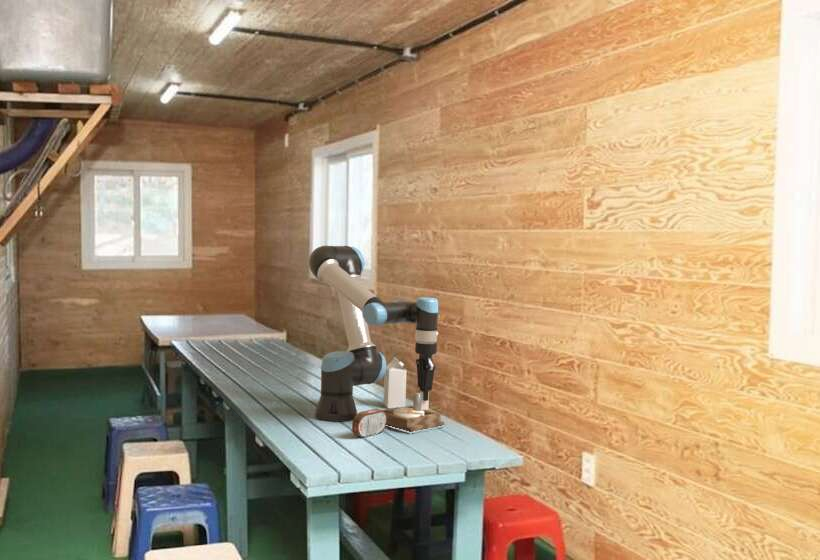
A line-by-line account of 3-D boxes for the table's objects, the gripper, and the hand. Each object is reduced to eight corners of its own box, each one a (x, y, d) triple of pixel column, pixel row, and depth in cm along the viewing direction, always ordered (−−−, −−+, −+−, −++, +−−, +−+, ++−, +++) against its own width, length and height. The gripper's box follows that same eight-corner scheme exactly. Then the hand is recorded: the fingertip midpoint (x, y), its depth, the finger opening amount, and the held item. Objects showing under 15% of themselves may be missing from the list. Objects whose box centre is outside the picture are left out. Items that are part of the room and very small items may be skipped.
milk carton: (387, 408, 294) (389, 360, 293) (383, 404, 301) (384, 357, 300) (405, 408, 296) (407, 359, 295) (400, 404, 303) (402, 357, 302)
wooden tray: (410, 434, 257) (411, 420, 257) (373, 422, 272) (373, 409, 272) (444, 427, 268) (444, 414, 268) (406, 416, 283) (406, 403, 282)
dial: (406, 423, 262) (407, 399, 262) (386, 417, 270) (387, 393, 270) (430, 419, 269) (431, 395, 269) (410, 413, 278) (411, 390, 277)
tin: (381, 430, 261) (382, 406, 261) (388, 432, 259) (389, 407, 259) (350, 438, 250) (351, 413, 249) (357, 440, 248) (358, 414, 247)
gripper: (443, 344, 260) (440, 412, 261) (429, 339, 272) (427, 404, 274) (422, 344, 258) (420, 413, 259) (409, 339, 270) (407, 405, 271)
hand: (424, 409), depth 266 cm, fingers closed
